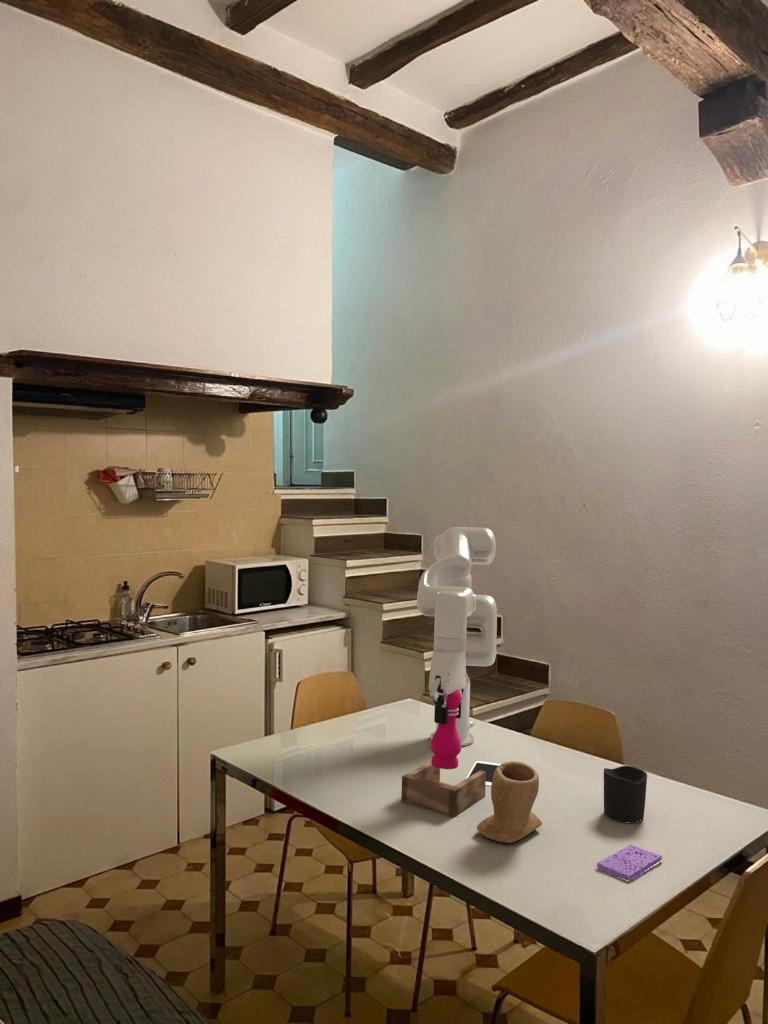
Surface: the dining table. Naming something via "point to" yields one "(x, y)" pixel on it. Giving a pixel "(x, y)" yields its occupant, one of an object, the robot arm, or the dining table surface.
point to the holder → (441, 791)
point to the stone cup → (512, 803)
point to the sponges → (629, 862)
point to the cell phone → (486, 767)
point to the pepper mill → (447, 736)
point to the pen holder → (625, 793)
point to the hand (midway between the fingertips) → (447, 719)
